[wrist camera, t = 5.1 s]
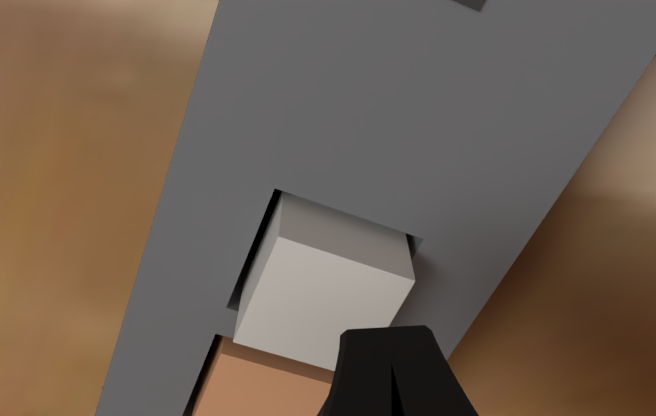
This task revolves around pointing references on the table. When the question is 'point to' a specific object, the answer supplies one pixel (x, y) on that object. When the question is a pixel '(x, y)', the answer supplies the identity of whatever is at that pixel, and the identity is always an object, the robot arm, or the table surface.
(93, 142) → the table surface
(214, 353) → the orange button
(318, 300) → the grey button
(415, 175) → the switch panel
